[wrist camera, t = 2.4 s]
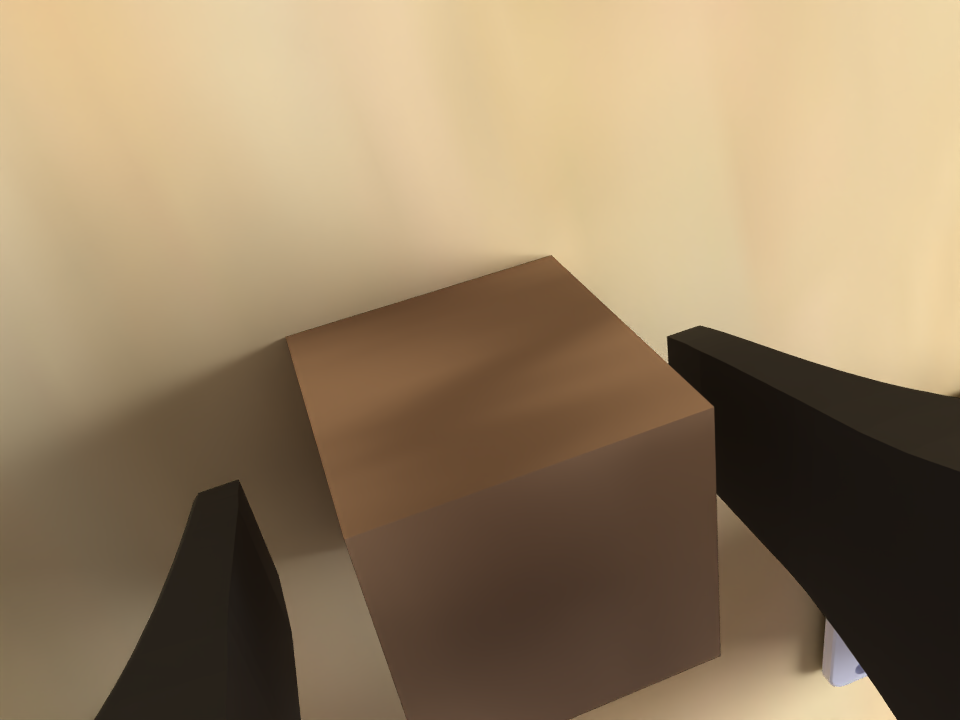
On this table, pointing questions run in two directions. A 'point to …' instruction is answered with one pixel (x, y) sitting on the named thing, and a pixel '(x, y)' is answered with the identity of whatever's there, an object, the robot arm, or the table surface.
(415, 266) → the table surface
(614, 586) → the walnut block
